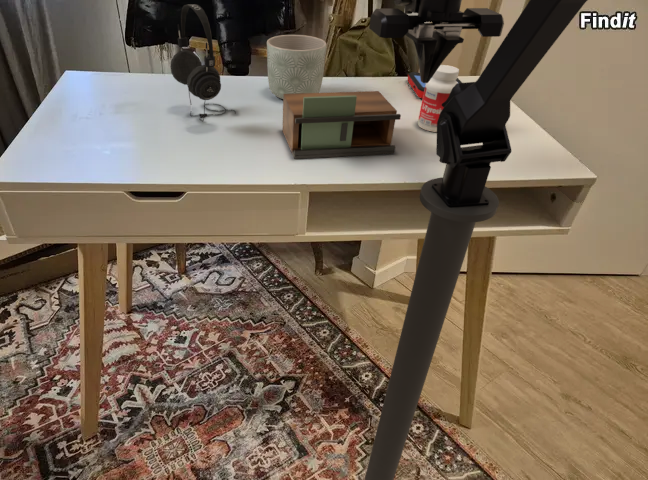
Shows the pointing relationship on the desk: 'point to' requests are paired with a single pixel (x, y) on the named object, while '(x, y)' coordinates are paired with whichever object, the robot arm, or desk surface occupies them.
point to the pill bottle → (436, 96)
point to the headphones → (196, 63)
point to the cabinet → (368, 127)
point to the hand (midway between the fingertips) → (424, 82)
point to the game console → (419, 83)
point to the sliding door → (328, 131)
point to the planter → (295, 64)
